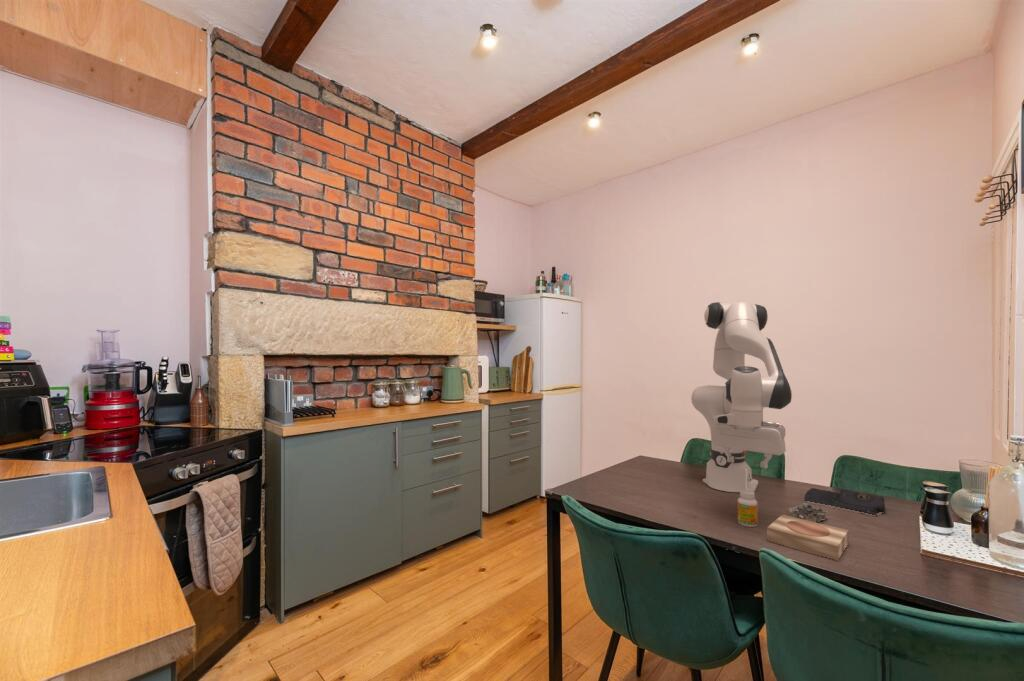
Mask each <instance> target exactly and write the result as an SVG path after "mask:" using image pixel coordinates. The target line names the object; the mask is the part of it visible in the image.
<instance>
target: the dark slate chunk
mask: <svg viewBox="0 0 1024 681" xmlns="http://www.w3.org/2000/svg"><path fill="white" fill-rule="evenodd" d="M804 499H805V500H804ZM803 500H804V502H805V501H810V502H815V503H820V504H825V505H831V506H835V507H840V508H845V509H850V510H855V511H859V512H864V513H868V514H872V515H876V514H877V513H879V512H884V511H885V512H886V506H885V498H884V496H882V495H880V496H878V495H876V494H875V495H874V494H869V493H868V494H866V495H865V498H864V497H863V495H862V494H860V493H859V492H858V491H850V490H849V489H841V490H840V491H839V492H835V491H831V490H825V489H818V488H814V487H813V488H812V487H810V488H809V489H808V490H807V491H806V493H805V494H804V498H803ZM885 512H884V513H885Z"/></svg>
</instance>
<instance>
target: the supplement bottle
mask: <svg viewBox="0 0 1024 681" xmlns="http://www.w3.org/2000/svg"><path fill="white" fill-rule="evenodd" d="M739 495H740V496H739V497H737V522H738V524H740V525H741V526H744V527H748V528H755V527H757V526H758V523H759V522H758V520H759V519H758V518H759V517H758V514H759V513H758V505H759V504H758V501H757V499H755V495H756V494H755V492H753V491H749V490H740V492H739Z"/></svg>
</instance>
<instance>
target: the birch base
mask: <svg viewBox="0 0 1024 681" xmlns="http://www.w3.org/2000/svg"><path fill="white" fill-rule="evenodd" d="M766 532H767V533H766V535H767V536H766V539H767V540H768V541H767V540H766V541H767V542H769V541H771V542H770V543H773V542H774V543H773V544H776V543H777V544H776V545H780V544H781V545H780V546H783V545H784V546H785V547H788V548H791V549H794V550H799V551H801V552H805V553H809V554H811V555H816V556H818V557H819V556H820V557H822V556H823V558H825V557H827V558H826V559H829V558H831V559H830V560H832V559H835V560H834V561H836V560H838V559H839V558H840V559H841V557H842V556H841V554H842V553H843V554H844V552H845V551H846V549H847V548H848V546H849V544H850V539H849V538H850V536H849V529H846V528H845V529H844V528H841V527H837V526H836V527H835V526H832V525H828V524H823V523H821V522H820V523H816V522H812V521H807V520H803V519H799V518H795V517H791V515H786V514H781V515H779V517H777V518H776V519H775V520H774V521H773V522H771V524H769V525H768V526H767V527H766ZM848 543H849V544H848ZM847 545H848V546H847ZM846 547H847V548H846ZM845 548H846V549H845ZM844 550H845V551H844ZM843 551H844V552H843ZM843 554H842V555H843ZM840 556H841V557H840ZM840 559H839V560H840ZM839 560H838V561H839Z"/></svg>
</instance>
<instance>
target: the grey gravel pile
mask: <svg viewBox="0 0 1024 681" xmlns="http://www.w3.org/2000/svg"><path fill="white" fill-rule="evenodd" d="M788 509H789V510H788V512H789V513H790V516H791V517H795V518H799V519H803V520H807V521H812V522H816V521H818V522H820V521H822V520H821V519H826V520H827V518H826V517H827V515H828V510H823V509H822V508H821V507H817V506H816V505H815V506H814V504H811V505H810V503H807V502H805V501H804V502H803V503H801V504H797V505H795V506H793V507H789V508H788ZM804 513H807V514H804ZM803 515H804V516H803ZM816 523H817V522H816ZM820 523H821V522H820Z"/></svg>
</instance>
